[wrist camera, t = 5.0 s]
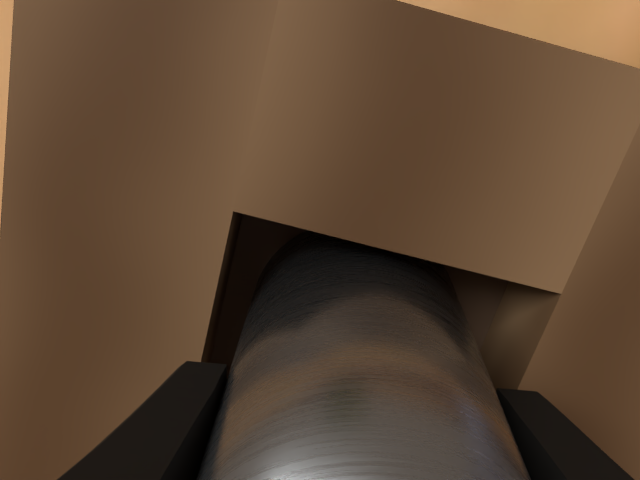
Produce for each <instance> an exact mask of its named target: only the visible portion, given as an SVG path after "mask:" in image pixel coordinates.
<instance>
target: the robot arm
mask: <svg viewBox="0 0 640 480" xmlns="http://www.w3.org/2000/svg"><path fill="white" fill-rule="evenodd" d="M226 379H227V364H217V363H205V362H194V361H186V362H185V363H183V364H182V365H181V366H179V367H178V368H177V369H176V370H175V371H174V372H173V373H172V374H171V375H170V376H169V377H168V378H167V379H166V380H165V381H164V382H163V383H162V384H161V385H160V387H159V388H158V389H157V390H155V391H154V392H153V393H152V394H151V395H150V396H149V397H148V398H147V399H146V400H145V401H144V402H143V403H142V404H141V405H140V406H139V407H138V408H137V409H136V410H135V411H134V412H133V413H132V414H131V415H130V416H129V417H128V418H127V419H125V420H124V421H123V422H122V423H121V424H120V425H119V426H118V427H117V428H116V429H115V430H113V431H112V432H111V433H110V434H109V435H108V436H107V437H106V438H105V439H104V440H103V441H101V442H100V443H99V444H98V445H97V446H96V447H95V448H94V449H93V450H91V451H90V452H89V453H88V454H87V455H86V456H85V457H83V458H82V459H81V460H80V461H79V462H77V463H76V464H75V465H74V466H73V467H71V468H70V469H69V470H68V471H66V472H65V473H64V474H63V475H62V476H60V477H59V478H58V479H57V480H196V479H197V476H198V472H199V469H200V466H201V463H202V459H203V456H204V453H205V450H206V446H207V443H208V440H209V437H210V433H211V430H212V427H213V424H214V420H215V417H216V414H217V411H218V407H219V404H220V401H221V398H222V394H223V391H224V388H225V384H226ZM496 393H497V396H498V398H499V401H500V403H501V406H502V408H503V411H504V413H505V416H506V418H507V421H508V423H509V426H510V428H511V431H512V433H513V436H514V438H515V441H516V443H517V446H518V448H519V451H520V453H521V456H522V458H523V461H524V463H525V466H526V468H527V471H528V473H529V476H530V478H531V480H634V479H633V478H632V477H631V476H630V475H629V474H628V473H627V472H625V471H624V470H623V469H622V468H621V467H620V466H619V465H618V464H617V463H616V462H614V461H613V460H612V459H611V458H610V457H609V456H608V455H607V454H606V453H605V452H604V451H603V450H601V449H600V448H599V447H598V446H597V445H596V444H595V443H594V442H593V441H592V440H591V439H590V438H589V437H587V436H586V435H585V434H584V433H583V432H582V431H581V430H580V429H579V428H578V427H577V426H576V425H575V424H573V423H572V422H571V421H570V420H569V419H568V418H567V417H566V416H565V415H564V414H563V413H562V412H560V411H559V410H558V409H557V408H556V407H555V406H554V405H553V404H552V403H550V402H549V401H548V400H547V399H546V398H545V397H543V396H542V395H541V394H540V393H539V392H537V391H526V390H515V389H503V388H497V389H496Z"/></svg>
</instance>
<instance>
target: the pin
mask: <svg viewBox="0 0 640 480" xmlns="http://www.w3.org/2000/svg"><path fill="white" fill-rule="evenodd" d="M196 480H531V478H530V476H529V473H528V471H527V468H526V466H525V463H524V461H523V458H522V456H521V453H520V451H519V448H518V446H517V443H516V441H515V438H514V436H513V433H512V431H511V428H510V426H509V423H508V421H507V418H506V416H505V413H504V411H503V408H502V406H501V403H500V401H499V398H498V396H497V393H496V391H495V388H494V386H493V383H492V381H491V378H490V376H489V373H488V371H487V368H486V366H485V363H484V361H483V359H482V356H481V354H480V351H479V349H478V346H477V344H476V341H475V339H474V336H473V334H472V331H471V329H470V326H469V324H468V321H467V319H466V316H465V314H464V311H463V309H462V306H461V304H460V301H459V299H458V296H457V294H456V291H455V289H454V286H453V284H452V281H451V279H450V277H449V274H448V272H447V271H446V269H445V267H444V266H443V264H440V263H436V262H432V261H428V260H424V259H420V258H417V257H413V256H409V255H405V254H401V253H397V252H393V251H389V250H385V249H381V248H377V247H373V246H369V245H365V244H361V243H357V242H353V241H349V240H345V239H341V238H337V237H333V236H329V235H325V234H321V233H317V232H313V231H309V230H307V231H304V232H302V233H301V234H299V235H297V236H296V237H294V238H292V239H291V240H290V241H288V242H287V243H286V244H285V245H283V246H282V247H281V248H280V249H279V250H278V251H277V252H276V253H275V254H274V255H273V256H272V257H271V259H270V260H269V262H268V263H267V264H266V266H265V267H264V269H263V271H262V273H261V275H260V277H259V279H258V281H257V284H256V287H255V290H254V293H253V296H252V300H251V303H250V306H249V310H248V313H247V316H246V319H245V323H244V326H243V329H242V332H241V336H240V339H239V342H238V345H237V349H236V352H235V355H234V358H233V362H232V365H231V368H230V371H229V375H228V378H227V381H226V384H225V388H224V391H223V394H222V398H221V401H220V404H219V407H218V411H217V414H216V417H215V420H214V424H213V427H212V430H211V433H210V437H209V440H208V443H207V446H206V450H205V453H204V456H203V459H202V463H201V466H200V469H199V472H198V476H197V479H196Z"/></svg>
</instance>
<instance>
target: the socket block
mask: <svg viewBox="0 0 640 480" xmlns="http://www.w3.org/2000/svg"><path fill="white" fill-rule="evenodd" d="M307 230H309V231H313V232H317V233H321V234H325V235H329V236H333V237H337V238H341V239H345V240H349V241H353V242H357V243H361V244H365V245H369V246H373V247H377V248H381V249H385V250H389V251H393V252H397V253H401V254H405V255H409V256H413V257H417V258H420V259H424V260H428V261H432V262H436V263H440V264H443V266H444V267H445V269H446V271H447V272H448V274H449V277H450V279H451V281H452V284H453V286H454V289H455V291H456V294H457V296H458V299H459V301H460V304H461V306H462V309H463V311H464V314H465V316H466V319H467V321H468V324H469V326H470V329H471V331H472V334H473V336H474V339H475V341H476V344H477V346H478V349H479V351H480V354H481V356H482V359H483V361H484V363H485V366H486V368H487V371H488V373H489V376H490V378H491V381H492V383H493V386H494V388H495V391H496V389H497V388H503V389H515V390H526V391H537V392H539V393H540V394H541V395H542V396H543V397H545V398H546V399H547V400H548V401H549V402H550V403H552V404H553V405H554V406H555V407H556V408H557V409H558V410H559V411H560V412H562V413H563V414H564V415H565V416H566V417H567V418H568V419H569V420H570V421H571V422H572V423H573V424H575V425H576V426H577V427H578V428H579V429H580V430H581V431H582V432H583V433H584V434H585V435H586V436H587V437H589V438H590V439H591V440H592V441H593V442H594V443H595V444H596V445H597V446H598V447H599V448H600V449H601V450H603V451H604V452H605V453H606V454H607V455H608V456H609V457H610V458H611V459H612V460H613V461H614V462H616V463H617V464H618V465H619V466H620V467H621V468H622V469H623V470H624V471H625V472H627V473H628V474H629V475H630V476H631V477H632V478H633V479H634V480H640V69H639V68H635V67H632V66H628V65H625V64H621V63H617V62H614V61H610V60H607V59H603V58H600V57H596V56H593V55H589V54H585V53H582V52H578V51H575V50H571V49H568V48H564V47H560V46H557V45H553V44H550V43H546V42H543V41H539V40H536V39H532V38H528V37H525V36H521V35H518V34H514V33H511V32H507V31H503V30H500V29H496V28H493V27H489V26H486V25H482V24H478V23H475V22H471V21H468V20H464V19H461V18H457V17H454V16H450V15H446V14H443V13H439V12H436V11H432V10H429V9H425V8H421V7H418V6H414V5H411V4H407V3H404V2H400V1H397V0H14V9H13V26H12V43H11V60H10V77H9V93H8V110H7V127H6V144H5V161H4V178H3V195H2V211H1V228H0V480H57V479H58V478H59V477H60V476H62V475H63V474H64V473H65V472H66V471H68V470H69V469H70V468H71V467H73V466H74V465H75V464H76V463H77V462H79V461H80V460H81V459H82V458H83V457H85V456H86V455H87V454H88V453H89V452H90V451H91V450H93V449H94V448H95V447H96V446H97V445H98V444H99V443H100V442H101V441H103V440H104V439H105V438H106V437H107V436H108V435H109V434H110V433H111V432H112V431H113V430H115V429H116V428H117V427H118V426H119V425H120V424H121V423H122V422H123V421H124V420H125V419H127V418H128V417H129V416H130V415H131V414H132V413H133V412H134V411H135V410H136V409H137V408H138V407H139V406H140V405H141V404H142V403H143V402H144V401H145V400H146V399H147V398H148V397H149V396H150V395H151V394H152V393H153V392H154V391H155V390H157V389H158V388H159V387H160V385H161V384H162V383H163V382H164V381H165V380H166V379H167V378H168V377H169V376H170V375H171V374H172V373H173V372H174V371H175V370H176V369H177V368H178V367H179V366H181V365H182V364H183V363H185V362H186V361H194V362H205V363H217V364H227V378H228V375H229V371H230V368H231V365H232V362H233V358H234V355H235V352H236V349H237V345H238V342H239V339H240V336H241V332H242V329H243V326H244V323H245V319H246V316H247V313H248V310H249V306H250V303H251V300H252V296H253V293H254V290H255V287H256V284H257V281H258V279H259V277H260V275H261V273H262V271H263V269H264V267H265V266H266V264H267V263H268V262H269V260H270V259H271V257H272V256H273V255H274V254H275V253H276V252H277V251H278V250H279V249H280V248H281V247H282V246H283V245H285V244H286V243H287V242H288V241H290V240H291V239H292V238H294V237H296V236H297V235H299V234H301V233H302V232H304V231H307ZM226 381H227V379H226Z"/></svg>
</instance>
